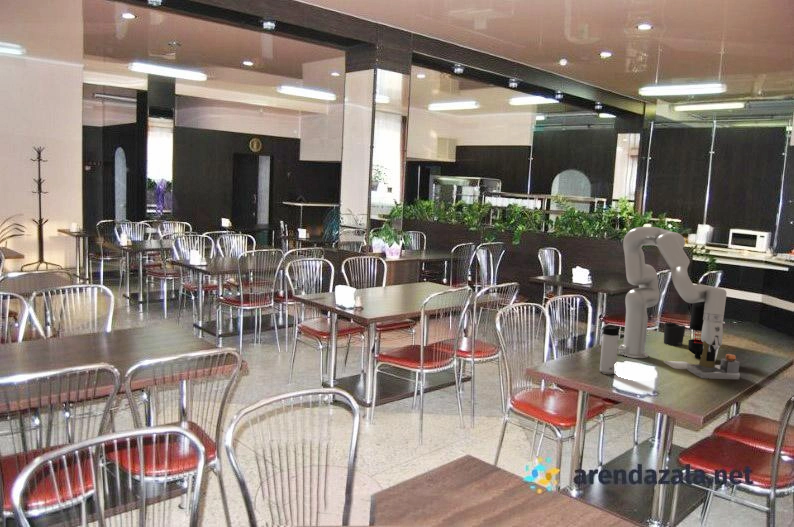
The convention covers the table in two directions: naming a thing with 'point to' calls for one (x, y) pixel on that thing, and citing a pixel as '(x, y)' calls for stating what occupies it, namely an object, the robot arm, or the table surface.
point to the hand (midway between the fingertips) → (708, 359)
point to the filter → (697, 328)
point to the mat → (677, 364)
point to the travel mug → (609, 349)
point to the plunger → (730, 357)
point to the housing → (717, 370)
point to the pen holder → (673, 334)
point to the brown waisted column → (704, 354)
